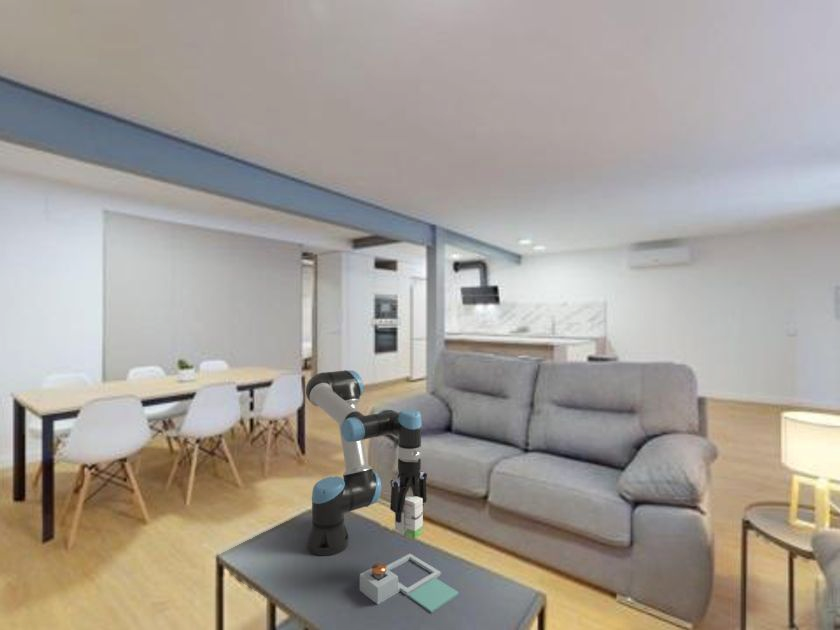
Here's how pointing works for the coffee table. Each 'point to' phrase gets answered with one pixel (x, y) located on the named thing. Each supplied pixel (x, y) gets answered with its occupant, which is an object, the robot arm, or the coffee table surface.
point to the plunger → (378, 571)
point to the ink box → (412, 516)
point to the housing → (393, 581)
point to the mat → (433, 595)
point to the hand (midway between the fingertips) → (408, 527)
